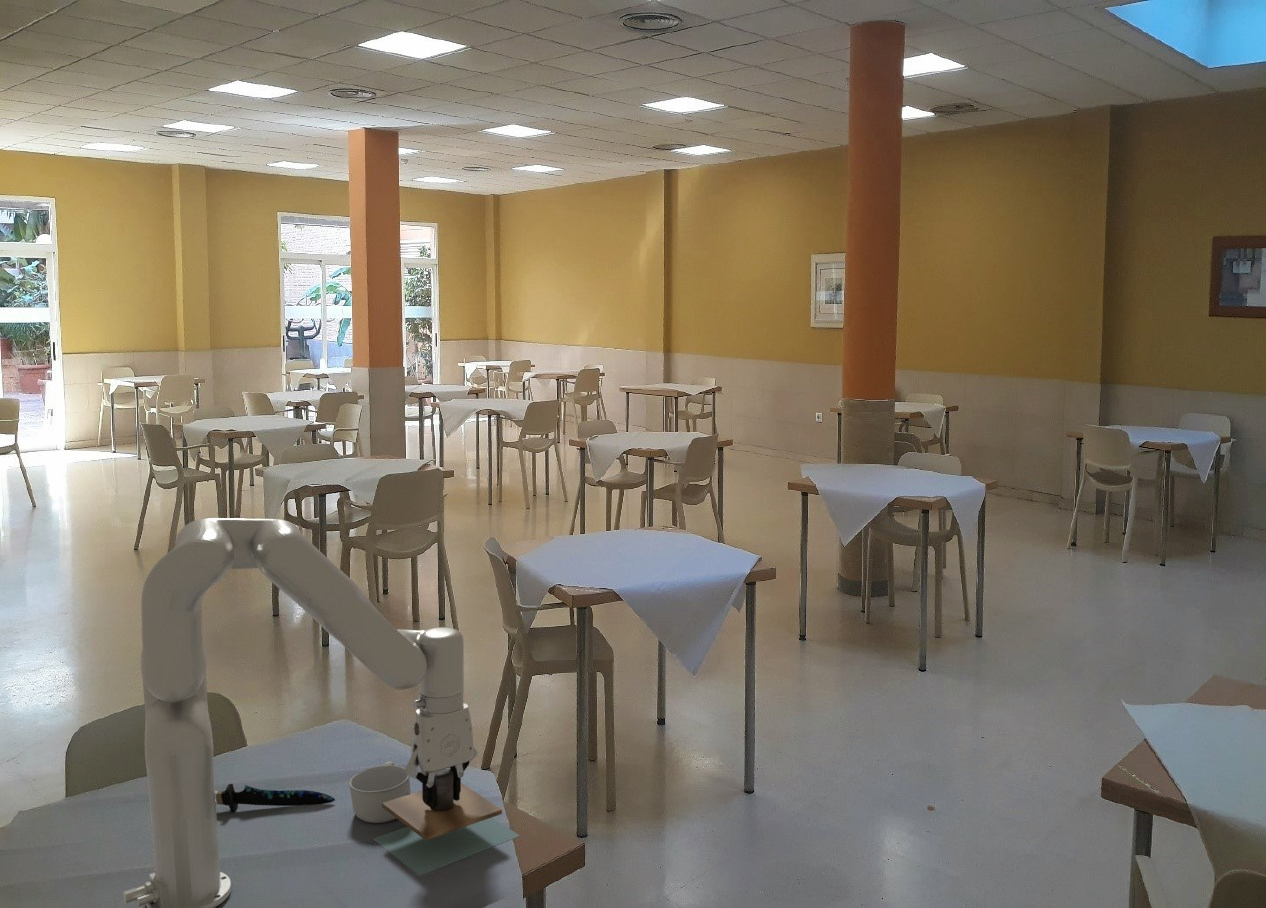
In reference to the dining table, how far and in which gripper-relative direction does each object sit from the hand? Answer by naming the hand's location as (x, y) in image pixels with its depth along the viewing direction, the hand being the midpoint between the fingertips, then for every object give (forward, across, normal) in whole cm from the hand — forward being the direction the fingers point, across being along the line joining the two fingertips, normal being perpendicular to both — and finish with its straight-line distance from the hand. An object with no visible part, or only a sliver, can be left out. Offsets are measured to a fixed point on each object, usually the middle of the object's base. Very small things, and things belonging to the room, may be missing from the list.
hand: (441, 800), depth 186 cm
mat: (+8, +1, 0) cm, 8 cm away
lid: (+2, 0, 0) cm, 2 cm away
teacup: (+8, -2, +17) cm, 19 cm away
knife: (+9, -20, +35) cm, 41 cm away
